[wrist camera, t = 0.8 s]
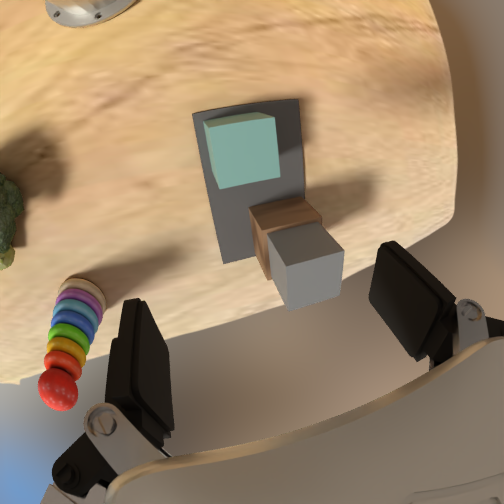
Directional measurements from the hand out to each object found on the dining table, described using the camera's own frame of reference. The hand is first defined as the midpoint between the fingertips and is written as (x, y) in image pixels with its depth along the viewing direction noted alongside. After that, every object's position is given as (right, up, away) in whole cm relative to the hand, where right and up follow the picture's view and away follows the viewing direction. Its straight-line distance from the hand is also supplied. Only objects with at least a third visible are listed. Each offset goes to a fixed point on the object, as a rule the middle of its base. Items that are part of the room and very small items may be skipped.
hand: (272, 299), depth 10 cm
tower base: (+3, +5, +26) cm, 27 cm away
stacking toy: (-26, -5, +25) cm, 36 cm away
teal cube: (-3, +14, +19) cm, 23 cm away
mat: (0, +10, +23) cm, 25 cm away
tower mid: (+4, +2, +21) cm, 22 cm away
